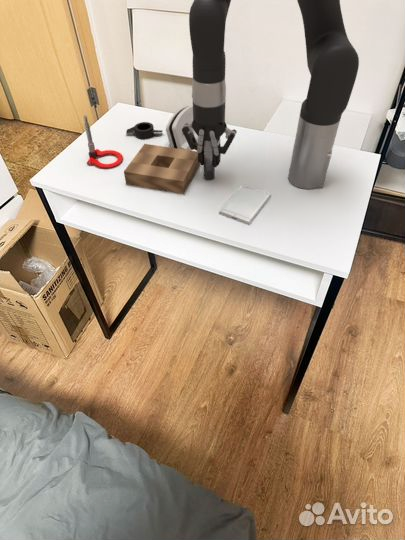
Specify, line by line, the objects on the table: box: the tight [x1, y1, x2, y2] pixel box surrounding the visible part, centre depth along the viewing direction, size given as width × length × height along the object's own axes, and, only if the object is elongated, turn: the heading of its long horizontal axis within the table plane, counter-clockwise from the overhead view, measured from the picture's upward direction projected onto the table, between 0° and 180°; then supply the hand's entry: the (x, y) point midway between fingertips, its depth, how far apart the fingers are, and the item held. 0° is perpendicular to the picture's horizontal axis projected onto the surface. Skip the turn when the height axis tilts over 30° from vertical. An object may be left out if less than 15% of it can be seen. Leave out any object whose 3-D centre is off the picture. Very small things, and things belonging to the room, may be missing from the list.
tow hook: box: [83, 115, 124, 170], centre depth 102 cm, size 8×13×9 cm
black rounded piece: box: [125, 121, 163, 141], centre depth 116 cm, size 8×10×3 cm
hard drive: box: [218, 184, 272, 226], centre depth 93 cm, size 2×8×12 cm
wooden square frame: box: [123, 143, 201, 195], centre depth 101 cm, size 16×14×4 cm
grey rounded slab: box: [165, 104, 198, 151], centre depth 112 cm, size 17×5×10 cm, turn 152°
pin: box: [202, 140, 216, 181], centre depth 97 cm, size 3×3×11 cm
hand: (209, 164), depth 98 cm, fingers closed on pin, 3 cm apart
